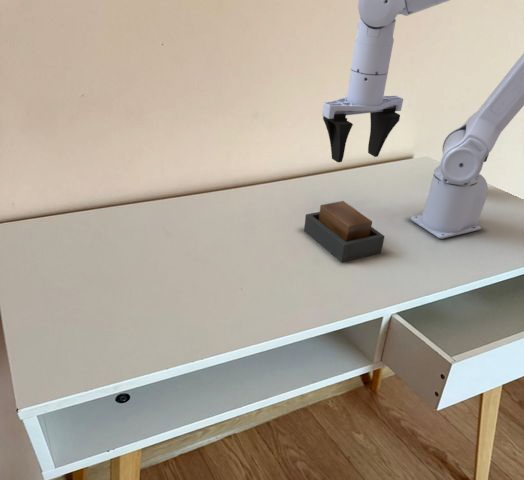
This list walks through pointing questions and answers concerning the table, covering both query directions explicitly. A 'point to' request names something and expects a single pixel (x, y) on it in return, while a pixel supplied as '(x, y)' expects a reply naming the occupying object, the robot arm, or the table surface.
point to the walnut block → (345, 221)
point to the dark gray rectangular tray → (338, 245)
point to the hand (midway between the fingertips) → (355, 157)
